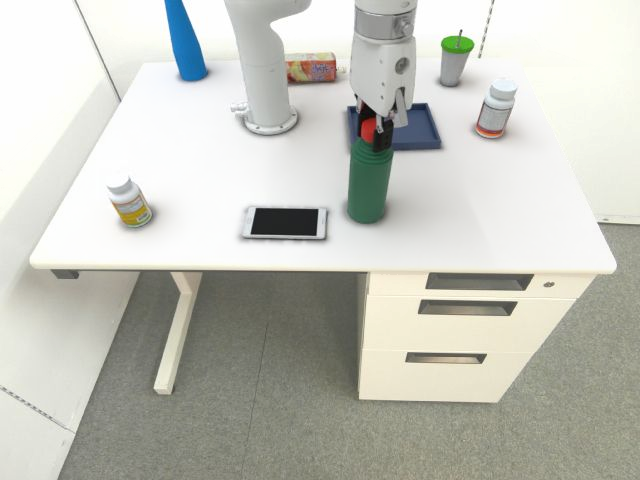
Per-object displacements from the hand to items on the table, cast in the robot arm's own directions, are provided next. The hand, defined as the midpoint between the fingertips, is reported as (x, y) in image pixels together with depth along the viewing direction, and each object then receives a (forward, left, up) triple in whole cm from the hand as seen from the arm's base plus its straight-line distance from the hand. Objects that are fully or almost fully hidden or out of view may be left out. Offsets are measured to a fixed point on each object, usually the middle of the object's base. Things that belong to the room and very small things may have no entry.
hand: (373, 140), depth 64 cm
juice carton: (-14, +51, -16) cm, 55 cm away
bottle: (-43, +56, -16) cm, 72 cm away
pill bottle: (+30, +24, -16) cm, 42 cm away
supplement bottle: (-44, +1, -16) cm, 47 cm away
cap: (0, 0, +3) cm, 3 cm away
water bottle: (0, 0, -16) cm, 16 cm away
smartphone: (-15, -2, -16) cm, 23 cm away
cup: (+26, +46, -16) cm, 55 cm away
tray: (+8, +26, -16) cm, 32 cm away
